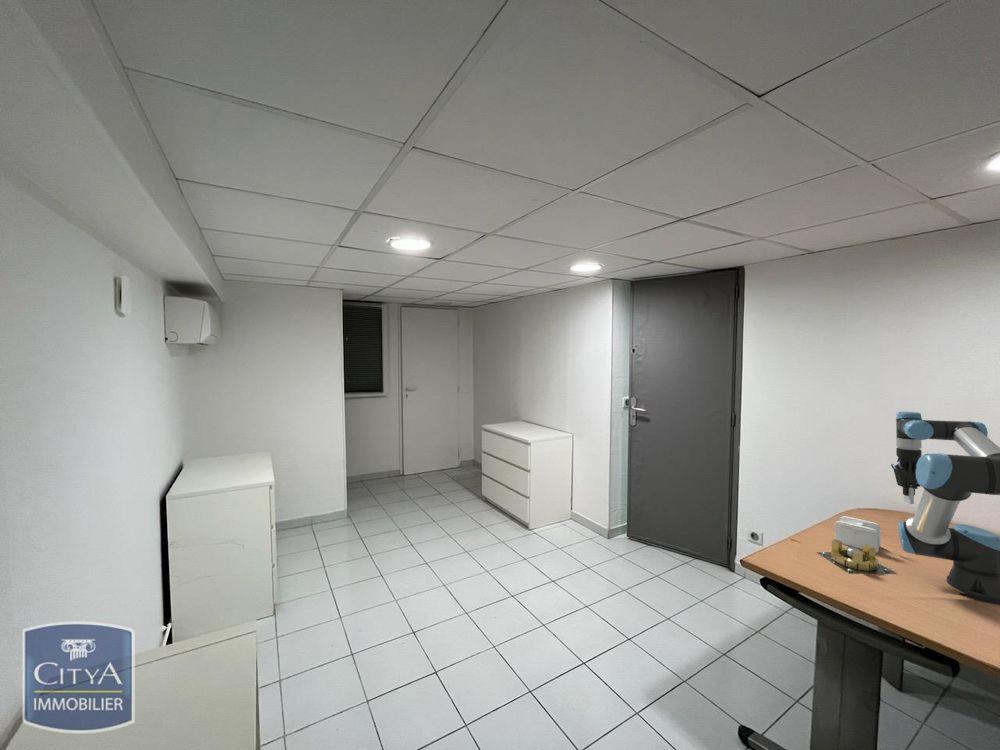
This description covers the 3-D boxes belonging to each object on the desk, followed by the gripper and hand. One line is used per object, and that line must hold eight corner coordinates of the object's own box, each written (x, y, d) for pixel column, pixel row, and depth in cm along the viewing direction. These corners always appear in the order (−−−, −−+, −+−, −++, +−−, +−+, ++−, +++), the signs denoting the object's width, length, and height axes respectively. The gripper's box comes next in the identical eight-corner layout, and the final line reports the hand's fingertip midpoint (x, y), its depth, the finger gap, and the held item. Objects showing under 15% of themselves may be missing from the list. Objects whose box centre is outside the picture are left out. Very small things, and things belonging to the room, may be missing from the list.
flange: (896, 577, 158) (896, 560, 158) (848, 577, 159) (848, 559, 159) (858, 555, 176) (858, 539, 176) (816, 555, 177) (815, 539, 177)
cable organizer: (883, 549, 180) (883, 524, 180) (877, 557, 174) (877, 530, 174) (841, 538, 193) (840, 514, 192) (833, 545, 186) (833, 520, 186)
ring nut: (866, 555, 172) (866, 540, 172) (886, 572, 158) (886, 556, 158) (825, 551, 176) (825, 536, 176) (842, 568, 163) (841, 551, 162)
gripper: (915, 445, 174) (915, 499, 174) (884, 446, 174) (885, 500, 175) (933, 449, 166) (933, 505, 167) (901, 450, 167) (901, 506, 167)
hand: (908, 502), depth 171 cm, fingers closed
